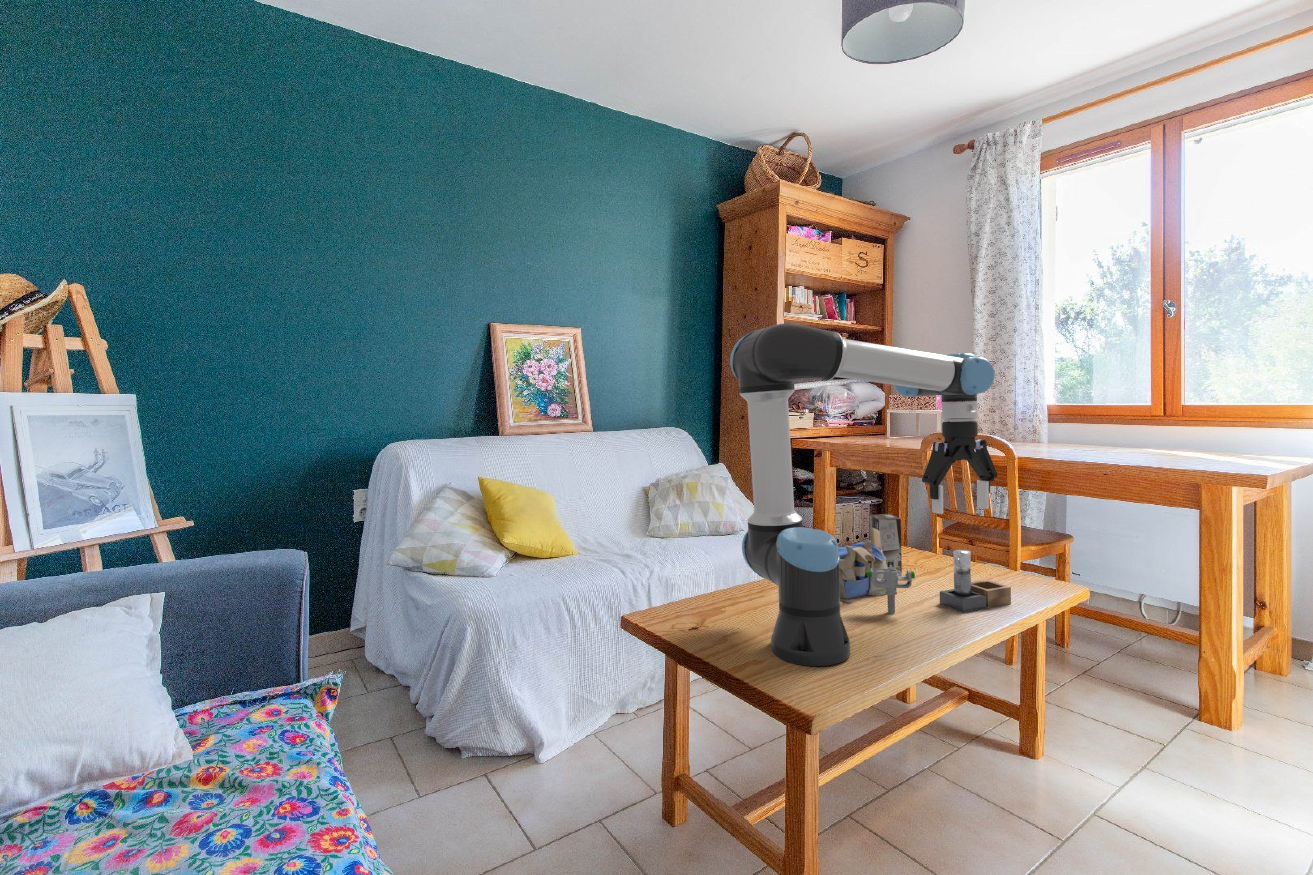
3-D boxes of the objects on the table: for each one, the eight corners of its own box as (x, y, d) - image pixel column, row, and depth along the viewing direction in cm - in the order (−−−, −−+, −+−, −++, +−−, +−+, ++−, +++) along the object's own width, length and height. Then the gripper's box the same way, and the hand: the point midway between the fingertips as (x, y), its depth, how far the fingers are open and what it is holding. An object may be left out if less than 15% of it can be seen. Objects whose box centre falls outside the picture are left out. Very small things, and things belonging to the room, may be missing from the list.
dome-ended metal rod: (962, 609, 147) (961, 554, 146) (950, 604, 150) (950, 550, 149) (974, 607, 148) (974, 552, 147) (962, 602, 151) (962, 549, 151)
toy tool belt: (835, 613, 148) (834, 545, 147) (786, 597, 161) (784, 535, 161) (906, 592, 162) (905, 530, 161) (855, 579, 175) (854, 521, 175)
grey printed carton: (903, 576, 176) (901, 518, 175) (879, 576, 176) (878, 519, 175) (892, 567, 185) (891, 513, 184) (870, 568, 185) (869, 513, 184)
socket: (962, 612, 145) (962, 599, 144) (939, 603, 151) (939, 591, 151) (986, 608, 147) (986, 595, 147) (962, 599, 153) (962, 587, 153)
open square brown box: (988, 607, 147) (987, 590, 147) (964, 599, 154) (964, 583, 153) (1010, 603, 149) (1010, 587, 149) (986, 595, 156) (986, 579, 156)
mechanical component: (916, 615, 144) (915, 572, 143) (869, 614, 146) (868, 571, 145) (913, 611, 146) (912, 568, 146) (867, 610, 148) (866, 568, 148)
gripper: (928, 422, 139) (930, 517, 140) (1013, 418, 148) (1014, 508, 149) (904, 422, 147) (906, 512, 148) (987, 418, 155) (988, 503, 156)
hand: (960, 510), depth 148 cm, fingers open, 13 cm apart
